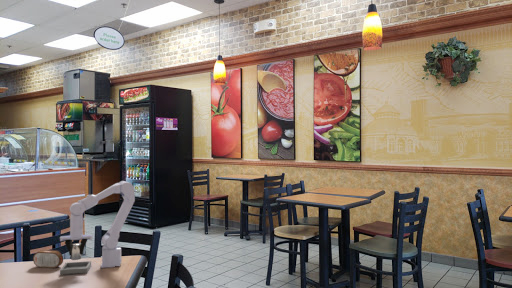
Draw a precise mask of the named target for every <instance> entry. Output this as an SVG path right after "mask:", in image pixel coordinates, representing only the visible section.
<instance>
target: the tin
mask: <svg viewBox="0 0 512 288" xmlns="http://www.w3.org/2000/svg"><path fill="white" fill-rule="evenodd" d="M32 258H33V259H32V260H33V264H34V265H35V266H36V267H38V268H47V269H56V268H58V267H60V266H61V265H62V264H63V262H64V256H63V254H62V253H61V251H59V250H49V249H48V250H47V249H46V250H45V249H40V250H39V251H37V252H35V254H33V257H32Z"/></svg>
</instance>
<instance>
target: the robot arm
mask: <svg viewBox="0 0 512 288" xmlns="http://www.w3.org/2000/svg"><path fill="white" fill-rule="evenodd" d="M113 194H120V195H121V197H122V198H123V201H122V203H121V206H120V208H119V210H118V212H117V214H116V216H115V218H114V220H113V222H112V223H111V226H110V228H108V230H107V231H106V233H105V234H104V235H103V236H101V243H102V244H103V245H102V247H101V265H100V269H103V268H116V267H115V266H119V267H121V265H120V264H122V247H118V244H119V239H120V232H121V230H122V228H123V226H124V224H125V221H126V220H127V218H128V216H129V214H130V212H131V209H132V207H133V205H134V204H135V201H136V197H135V187H134V185H133V183H131V182H129V181H125V180H121V181H119V182H116V183H114V184H112V185H110V186H109V187H107V188H106V189H104V190H102V191H101V192H99V193H97V194H87V195H86V197H85V198H82V199H79V200H77V202H72V203H71V204H70V206H69V212H70V219H69V232H70V233H69V235H62V236H60V237H59V241H60V242H64V244H65V246H66V248H67V250H68V254H69V256H71V245H72V244H73V241H80V244H81V256H82V255H83V254H84V250H85V247H86V244H87V242H88V240H93V234H83V233H84V230H83V229H84V218H83V214H84V212H85V211H87V210H89V209H91V208H93V207H95V206H96V205H98V204H99V201H101V200H103V199H105V198H107V197H109V196H111V195H113Z"/></svg>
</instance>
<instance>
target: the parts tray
mask: <svg viewBox="0 0 512 288" xmlns="http://www.w3.org/2000/svg"><path fill="white" fill-rule="evenodd" d="M91 267H92V260H89V261H88V260H87V261H73V262H65V263H64V265H63V266H61V268H60V269H59V276H72V275H84V274H88V273H89V270H90V269H91Z"/></svg>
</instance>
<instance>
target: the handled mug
mask: <svg viewBox="0 0 512 288" xmlns="http://www.w3.org/2000/svg"><path fill="white" fill-rule="evenodd" d="M70 256H71V257H70V259H71V260H72V261H78V260H81V259H82V255H81V242H80V243H78V242H77V243H72V245H71V255H70Z"/></svg>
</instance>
